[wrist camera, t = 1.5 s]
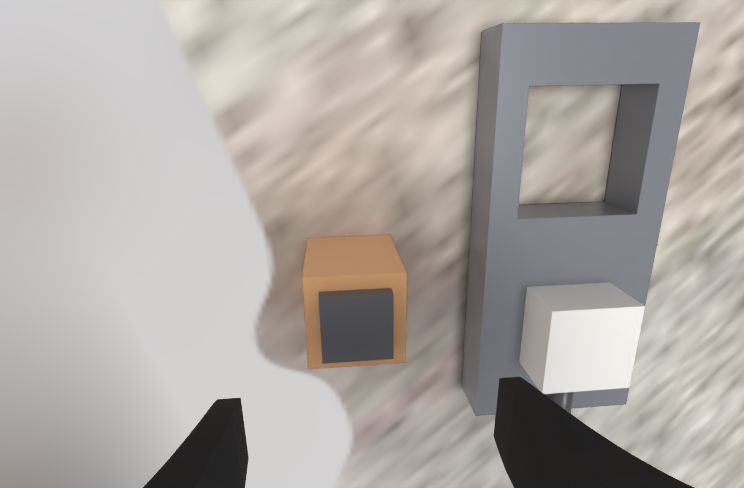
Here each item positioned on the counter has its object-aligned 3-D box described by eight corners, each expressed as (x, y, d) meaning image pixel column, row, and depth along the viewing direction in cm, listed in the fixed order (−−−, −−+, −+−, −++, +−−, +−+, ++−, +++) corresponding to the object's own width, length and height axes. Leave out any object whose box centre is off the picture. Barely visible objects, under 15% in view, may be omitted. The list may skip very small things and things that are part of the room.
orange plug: (390, 308, 23) (408, 370, 18) (312, 312, 23) (307, 377, 18) (390, 234, 22) (409, 278, 17) (307, 237, 22) (301, 284, 17)
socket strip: (592, 412, 27) (649, 480, 22) (459, 422, 26) (489, 495, 21) (656, 30, 20) (756, 11, 16) (481, 31, 20) (530, 12, 15)
